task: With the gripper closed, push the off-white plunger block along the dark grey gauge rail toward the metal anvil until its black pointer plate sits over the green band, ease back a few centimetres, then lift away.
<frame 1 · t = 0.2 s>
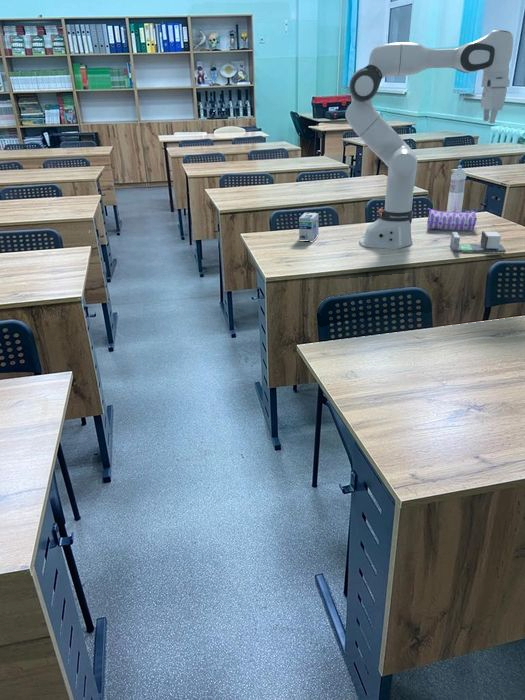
hand: (488, 122, 199), 47 cm above the table, tool pointing down, fingers open, 8 cm apart
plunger: (490, 240, 210), point 4 cm above the table, slide at 0.0 cm
gauge rail: (476, 249, 213), on the table
light bulb box: (308, 239, 237), on the table
pencil case: (450, 230, 241), on the table
water bottle: (453, 219, 258), on the table
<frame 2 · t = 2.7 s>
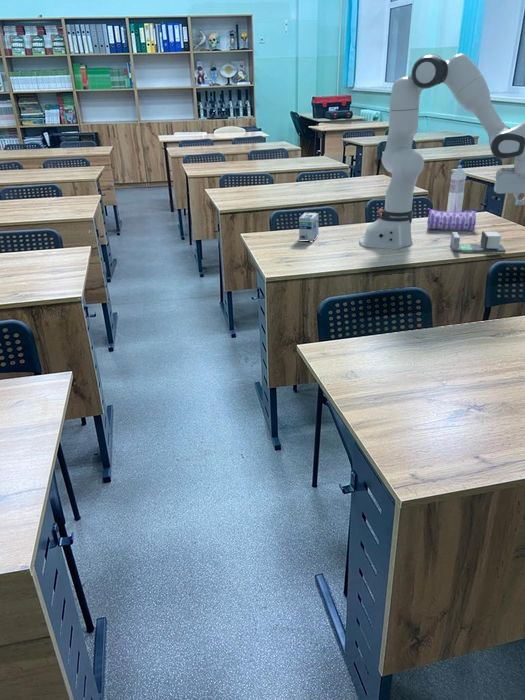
hand: (519, 204, 202), 18 cm above the table, tool pointing down, fingers closed
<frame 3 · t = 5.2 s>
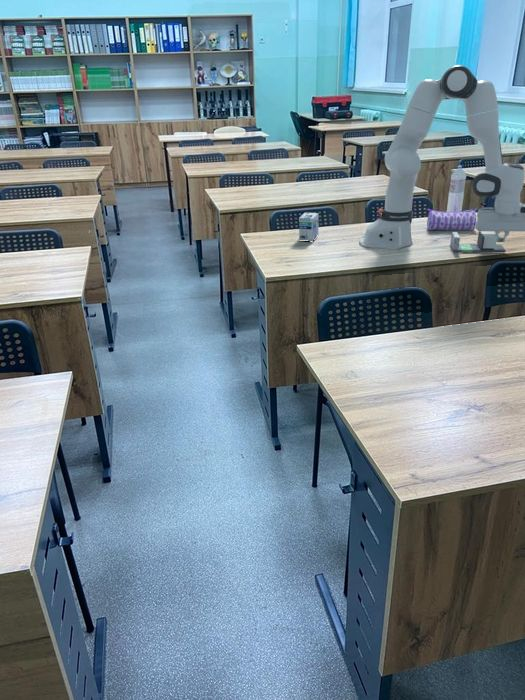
hand: (500, 241, 210), 3 cm above the table, tool pointing down, fingers closed
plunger: (487, 240, 211), point 4 cm above the table, slide at 1.4 cm, touching gripper
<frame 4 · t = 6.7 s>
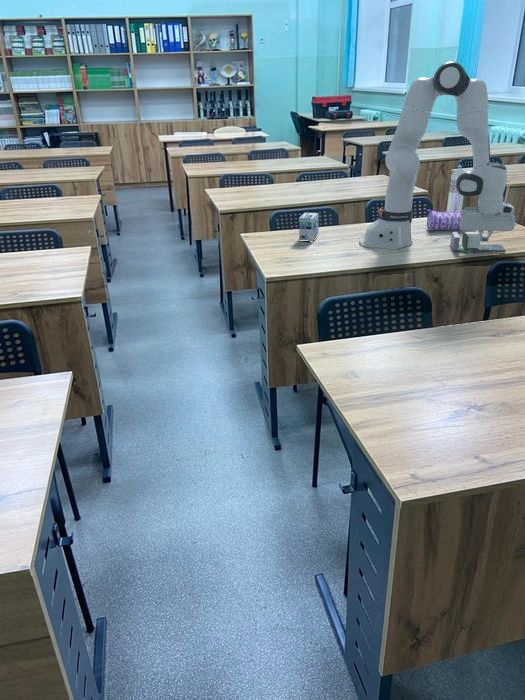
hand: (484, 241, 211), 4 cm above the table, tool pointing down, fingers closed
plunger: (471, 240, 212), point 4 cm above the table, slide at 7.4 cm, touching gripper
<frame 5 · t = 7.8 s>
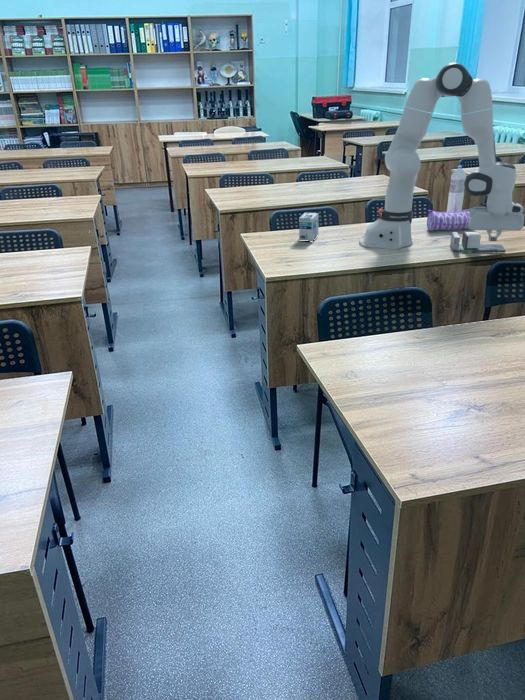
hand: (492, 240, 210), 4 cm above the table, tool pointing down, fingers closed
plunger: (471, 240, 212), point 4 cm above the table, slide at 7.4 cm
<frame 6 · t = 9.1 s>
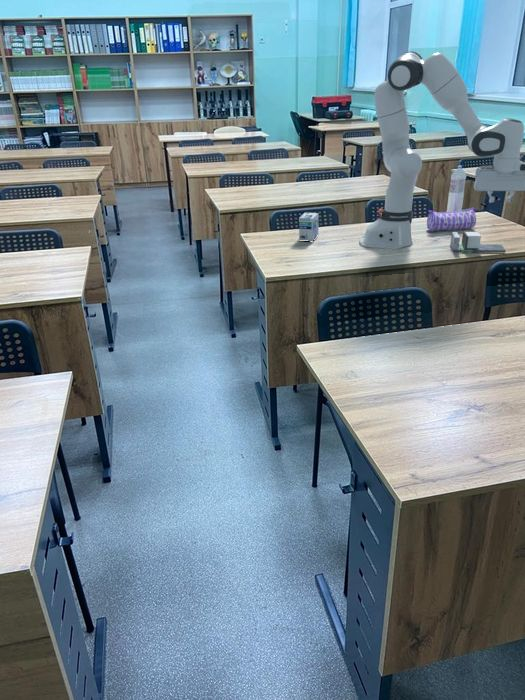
hand: (499, 202, 203), 19 cm above the table, tool pointing down, fingers open, 4 cm apart
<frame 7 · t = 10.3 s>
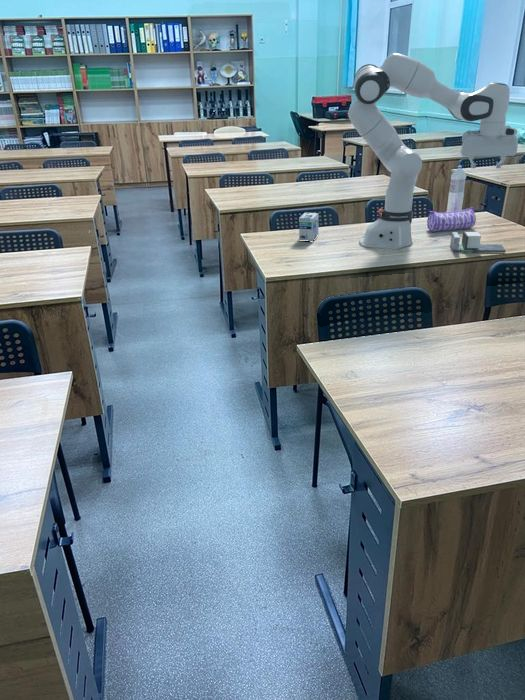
hand: (485, 168, 205), 31 cm above the table, tool pointing down, fingers open, 8 cm apart
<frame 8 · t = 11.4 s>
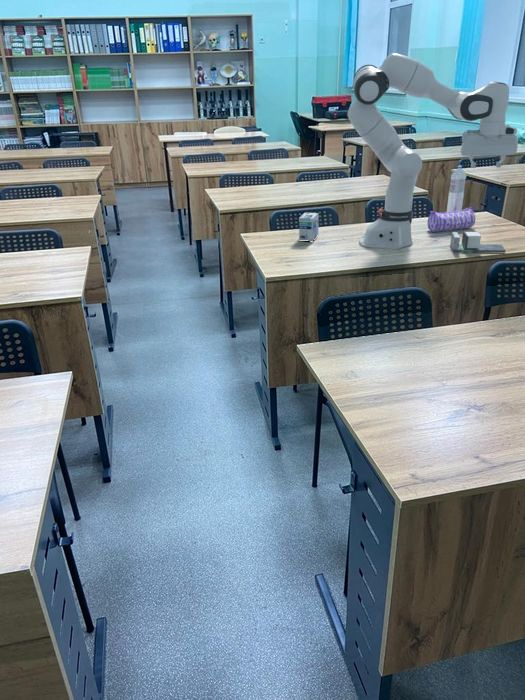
hand: (485, 167, 205), 31 cm above the table, tool pointing down, fingers open, 8 cm apart
at the end: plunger slide at 7.4 cm; the gripper is holding nothing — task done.
